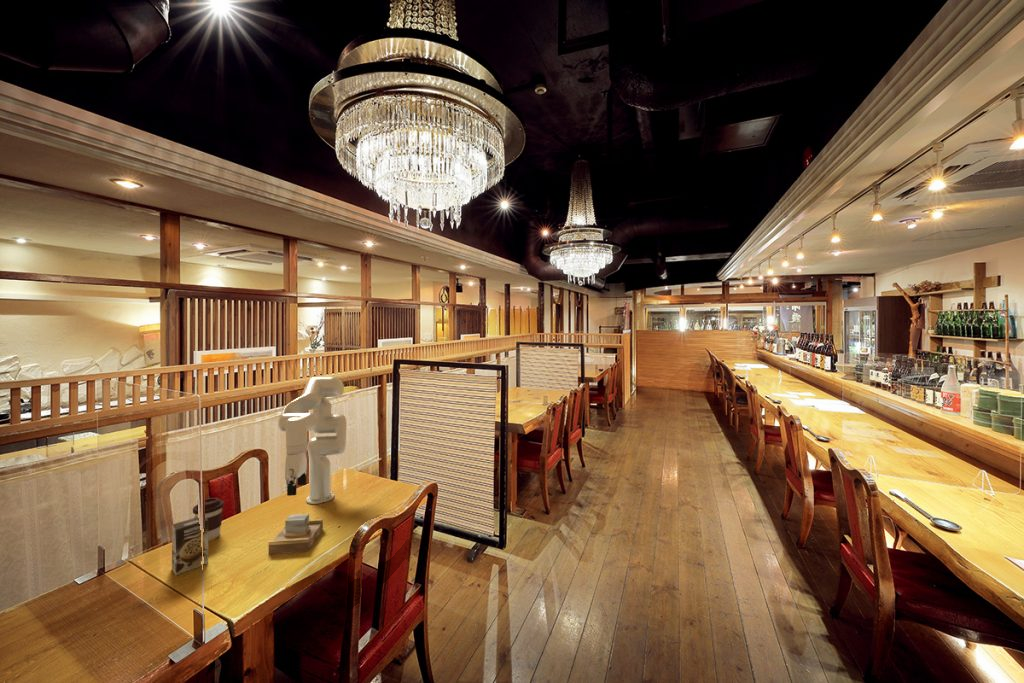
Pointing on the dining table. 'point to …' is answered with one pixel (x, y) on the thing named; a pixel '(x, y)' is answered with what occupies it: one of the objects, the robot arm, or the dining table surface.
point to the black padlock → (297, 525)
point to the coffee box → (188, 545)
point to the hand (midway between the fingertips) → (297, 489)
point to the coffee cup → (212, 516)
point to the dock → (296, 539)
